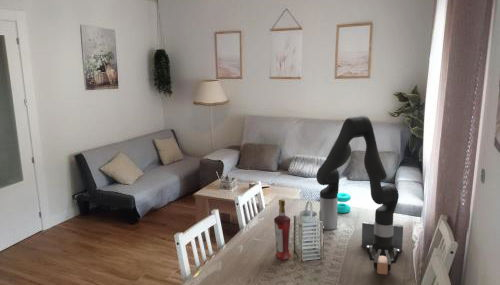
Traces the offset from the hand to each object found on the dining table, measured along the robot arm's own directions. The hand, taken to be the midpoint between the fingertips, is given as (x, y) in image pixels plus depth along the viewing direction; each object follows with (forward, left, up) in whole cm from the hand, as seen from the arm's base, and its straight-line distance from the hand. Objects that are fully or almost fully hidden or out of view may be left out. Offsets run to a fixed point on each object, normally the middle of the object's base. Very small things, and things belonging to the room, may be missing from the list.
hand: (382, 270), depth 156 cm
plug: (0, +8, 0) cm, 8 cm away
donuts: (-22, +64, -1) cm, 68 cm away
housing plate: (0, +21, 0) cm, 21 cm away
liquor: (-43, 0, -1) cm, 43 cm away
